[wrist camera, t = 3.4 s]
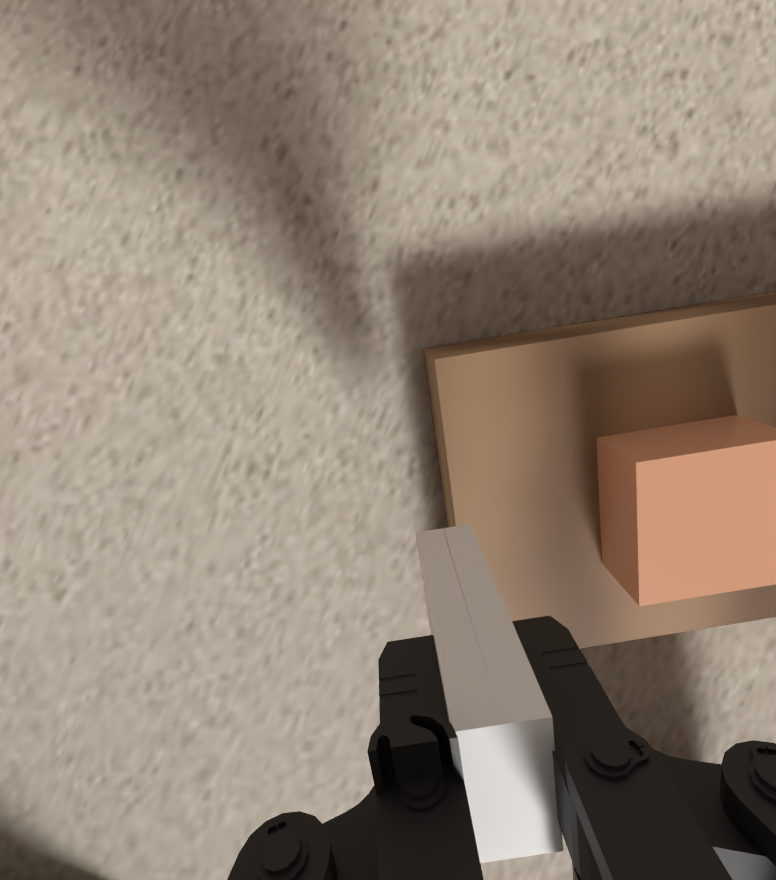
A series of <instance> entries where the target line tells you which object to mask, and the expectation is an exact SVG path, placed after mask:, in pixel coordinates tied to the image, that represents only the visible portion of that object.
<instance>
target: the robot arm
mask: <svg viewBox="0 0 776 880" xmlns="http://www.w3.org/2000/svg"><path fill="white" fill-rule="evenodd" d="M415 534H416V541H417V547H418V554H419V560H420V567H421V573H422V580H423V586H424V593H425V599H426V606H427V612H428V619H429V624H430V630H431V635H430V636H423V637H417V638H410V639H404V640H397V641H391V642H387V644H386V646H385V648H384V650H383V652H382V654H381V656H380V658H379V696H380V724H379V726H378V727H377V729H376V730H375V731H374V733H373V734H372V736H371V738H370V743H369V747H368V756H369V761H370V765H371V770H372V775H373V780H374V784H375V785H374V787H373V788H372V790H371V791H370V793H369V794H368V795H367V796H366V797H365V798H364V799H363V800H362V801H361V802H360V803H359V804H358V805H356V806H355V807H353V808H352V809H350V810H348V811H347V812H345V813H343V814H341V815H339V816H337V817H335V818H333V819H331V820H329V821H327V822H325V823H323V824H322V823H321V822H320V821H319V820H318V819H317V818H316V817H315V816H313V815H309V814H306V813H303V812H300V811H299V812H290V813H282V814H280V815H278V816H276V817H274V818H272V819H270V820H268V821H266V822H265V823H263V824H262V825H261V826H260V827H259V828H258V829H257V830H256V831H255V832H254V833H252V834H251V835H250V837H249V838H248V840H247V841H246V843H245V845H244V846H243V848H242V849H241V851H240V853H239V854H238V857H237V859H236V861H235V863H234V866H233V868H232V870H231V872H230V875H229V877H228V879H227V880H483V875H482V870H481V865H480V863H485V862H492V861H498V860H505V859H512V858H519V857H525V856H532V855H539V854H546V853H552V852H559V851H563V843H562V833H563V836H564V839H565V842H566V845H567V847H568V850H569V853H570V856H571V859H572V866H573V880H776V744H775V743H769V742H761V741H748V742H742V743H737V744H735V745H734V746H732V747H731V748H730V749H729V750H727V751H726V752H725V754H724V757H723V761H722V765H721V764H714V763H706V762H699V761H692V760H684V759H680V758H675V757H671V756H667V755H665V754H662V753H660V752H657V751H655V750H653V749H652V748H651V747H650V746H649V745H648V743H647V742H646V741H645V740H644V739H643V738H642V737H640V736H638V735H637V734H635V733H634V732H632V731H630V730H629V729H627V728H626V727H625V725H624V724H623V723H622V721H621V719H620V718H619V716H618V714H617V712H616V711H615V709H614V707H613V706H612V704H611V702H610V700H609V699H608V697H607V695H606V693H605V692H604V690H603V688H602V686H601V685H600V683H599V681H598V680H597V678H596V676H595V674H594V673H593V671H592V669H591V667H590V666H588V664H587V661H586V659H585V657H584V655H583V654H582V652H581V650H579V647H578V645H577V643H576V642H575V640H574V638H573V636H572V635H571V633H570V631H569V629H568V628H566V627H565V626H563V625H562V624H561V623H559V622H558V621H557V620H555V619H554V618H553V617H551V616H550V615H549V616H543V617H536V618H530V619H523V620H517V621H512V620H511V618H510V616H509V613H508V611H507V609H506V606H505V604H504V601H503V599H502V597H501V594H500V592H499V590H498V587H497V585H496V583H495V580H494V578H493V576H492V573H491V571H490V568H489V566H488V564H487V561H486V559H485V557H484V554H483V552H482V550H481V547H480V545H479V542H478V540H477V538H476V535H475V533H474V531H473V528H472V526H471V524H467V525H461V526H455V527H448V528H442V529H435V530H429V531H422V532H416V533H415Z"/></svg>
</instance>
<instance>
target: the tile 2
mask: <svg viewBox="0 0 776 880" xmlns="http://www.w3.org/2000/svg"><path fill="white" fill-rule="evenodd" d="M597 460H598V482H599V505H600V527H601V550H602V564H603V565H604V567H605V568H606V569H607V570H608V571H609V572H610V573H611V575H612V576H613V577H614V578H615V579H616V580H617V581H618V583H619V584H620V585H621V586H622V587H623V588H624V589H625V591H626V592H627V593H628V594H629V595H630V596H631V597H632V599H633V600H634V601H635V602H636V603H637V604H638V606H645V605H651V604H657V603H664V602H670V601H676V600H682V599H688V598H695V597H701V596H707V595H713V594H719V593H725V592H732V591H738V590H744V589H750V588H756V587H762V586H769V585H775V584H776V428H775V427H772V426H769V425H766V424H763V423H760V422H757V421H754V420H751V419H748V418H745V417H742V416H739V415H734V416H728V417H721V418H715V419H709V420H703V421H697V422H690V423H684V424H678V425H672V426H666V427H659V428H653V429H647V430H641V431H635V432H628V433H622V434H616V435H610V436H604V437H597Z"/></svg>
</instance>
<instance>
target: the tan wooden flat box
mask: <svg viewBox="0 0 776 880" xmlns="http://www.w3.org/2000/svg"><path fill="white" fill-rule="evenodd" d="M423 350H424V357H425V365H426V372H427V380H428V387H429V395H430V402H431V409H432V417H433V424H434V432H435V439H436V447H437V454H438V462H439V469H440V476H441V484H442V491H443V499H444V506H445V514H446V521H447V528H448V527H455V526H461V525H467V524H471V526H472V528H473V531H474V533H475V535H476V538H477V540H478V542H479V545H480V547H481V550H482V552H483V554H484V557H485V559H486V561H487V564H488V566H489V568H490V571H491V573H492V576H493V578H494V580H495V583H496V585H497V587H498V590H499V592H500V594H501V597H502V599H503V601H504V604H505V606H506V609H507V611H508V613H509V616H510V618H511V620H512V621H517V620H523V619H530V618H536V617H543V616H549V615H550V616H551V617H553V618H554V619H555V620H557V621H558V622H559V623H561V624H562V625H563V626H565V627H566V628H568V629H569V631H570V633H571V635H572V636H573V638H574V640H575V642H576V643H577V645H578V647H579V649H581V648H587V647H593V646H599V645H605V644H612V643H618V642H624V641H630V640H636V639H642V638H649V637H655V636H661V635H667V634H673V633H679V632H686V631H692V630H698V629H704V628H710V627H717V626H723V625H729V624H735V623H741V622H747V621H754V620H760V619H766V618H772V617H776V584H775V585H769V586H762V587H756V588H750V589H744V590H738V591H732V592H725V593H719V594H713V595H707V596H701V597H695V598H688V599H682V600H676V601H670V602H664V603H657V604H651V605H645V606H638V604H637V603H636V602H635V601H634V600H633V599H632V597H631V596H630V595H629V594H628V593H627V592H626V591H625V589H624V588H623V587H622V586H621V585H620V584H619V583H618V581H617V580H616V579H615V578H614V577H613V576H612V575H611V573H610V572H609V571H608V570H607V569H606V568H605V567H604V565H603V564H602V550H601V527H600V505H599V482H598V460H597V437H604V436H610V435H616V434H622V433H628V432H635V431H641V430H647V429H653V428H659V427H666V426H672V425H678V424H684V423H690V422H697V421H703V420H709V419H715V418H721V417H728V416H734V415H739V416H742V417H745V418H748V419H751V420H754V421H757V422H760V423H763V424H766V425H769V426H772V427H775V428H776V292H771V293H765V294H759V295H752V296H746V297H740V298H734V299H728V300H721V301H715V302H709V303H703V304H697V305H690V306H684V307H678V308H672V309H666V310H659V311H653V312H647V313H641V314H635V315H628V316H622V317H616V318H610V319H603V320H597V321H591V322H585V323H579V324H572V325H566V326H560V327H554V328H548V329H541V330H535V331H529V332H523V333H517V334H510V335H504V336H498V337H492V338H485V339H479V340H473V341H467V342H461V343H454V344H448V345H442V346H436V347H430V348H423Z"/></svg>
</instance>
